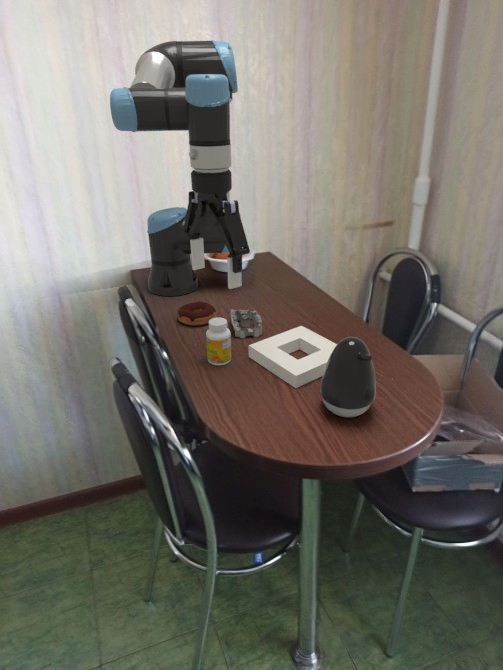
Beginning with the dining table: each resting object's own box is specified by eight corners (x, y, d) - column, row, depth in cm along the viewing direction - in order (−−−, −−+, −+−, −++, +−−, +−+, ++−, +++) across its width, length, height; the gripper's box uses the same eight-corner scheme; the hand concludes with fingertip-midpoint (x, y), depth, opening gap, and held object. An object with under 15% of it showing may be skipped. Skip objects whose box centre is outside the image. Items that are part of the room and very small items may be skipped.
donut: (212, 310, 131) (211, 296, 129) (220, 325, 123) (219, 311, 121) (176, 314, 129) (174, 301, 127) (181, 330, 120) (180, 316, 118)
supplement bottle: (202, 360, 107) (200, 321, 102) (219, 351, 110) (218, 313, 106) (219, 368, 104) (217, 329, 99) (236, 359, 107) (235, 320, 103)
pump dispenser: (338, 432, 84) (345, 358, 77) (309, 400, 93) (313, 331, 86) (384, 417, 88) (395, 346, 81) (352, 388, 96) (360, 321, 89)
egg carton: (263, 338, 116) (263, 323, 115) (233, 340, 116) (232, 325, 114) (258, 319, 126) (258, 305, 124) (230, 320, 125) (229, 306, 123)
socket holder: (248, 356, 108) (248, 345, 107) (300, 336, 116) (301, 325, 115) (295, 388, 97) (296, 375, 95) (349, 363, 105) (350, 351, 104)
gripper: (161, 163, 95) (170, 265, 104) (233, 180, 77) (236, 300, 87) (193, 160, 99) (199, 258, 108) (269, 175, 81) (268, 291, 91)
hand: (215, 277), depth 98 cm, fingers open, 13 cm apart
